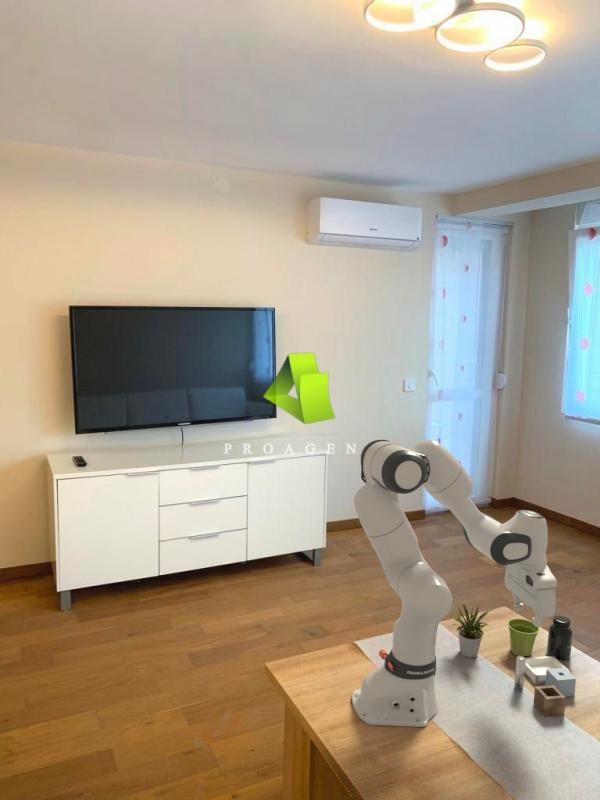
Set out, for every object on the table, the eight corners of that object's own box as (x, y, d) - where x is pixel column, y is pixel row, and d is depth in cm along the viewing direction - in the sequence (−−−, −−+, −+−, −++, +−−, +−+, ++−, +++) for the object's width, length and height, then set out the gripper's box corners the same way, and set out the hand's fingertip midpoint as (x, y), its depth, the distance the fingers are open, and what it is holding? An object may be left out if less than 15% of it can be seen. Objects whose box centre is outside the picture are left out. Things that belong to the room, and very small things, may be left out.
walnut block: (544, 716, 165) (546, 699, 164) (533, 704, 170) (535, 686, 169) (564, 715, 166) (565, 697, 165) (552, 702, 171) (553, 685, 170)
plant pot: (540, 650, 198) (542, 624, 197) (533, 663, 190) (535, 636, 189) (509, 641, 203) (511, 615, 202) (501, 653, 195) (504, 627, 194)
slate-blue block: (556, 697, 173) (557, 680, 173) (545, 685, 179) (546, 669, 178) (574, 695, 174) (576, 678, 174) (562, 684, 180) (564, 667, 179)
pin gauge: (516, 691, 176) (519, 660, 174) (512, 686, 178) (515, 656, 177) (524, 690, 176) (527, 660, 175) (520, 685, 178) (522, 655, 177)
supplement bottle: (572, 663, 191) (576, 625, 189) (548, 660, 192) (552, 622, 191) (567, 651, 198) (571, 615, 196) (544, 648, 199) (548, 612, 197)
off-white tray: (535, 683, 179) (536, 675, 179) (518, 666, 188) (519, 658, 188) (570, 680, 182) (571, 672, 181) (552, 663, 190) (553, 655, 190)
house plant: (433, 654, 193) (436, 603, 191) (450, 636, 205) (453, 588, 203) (479, 670, 185) (483, 617, 183) (494, 650, 197) (498, 600, 195)
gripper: (499, 555, 181) (498, 601, 183) (538, 586, 161) (536, 636, 163) (519, 553, 182) (518, 599, 184) (561, 583, 162) (559, 634, 164)
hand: (527, 617), depth 174 cm, fingers open, 8 cm apart
